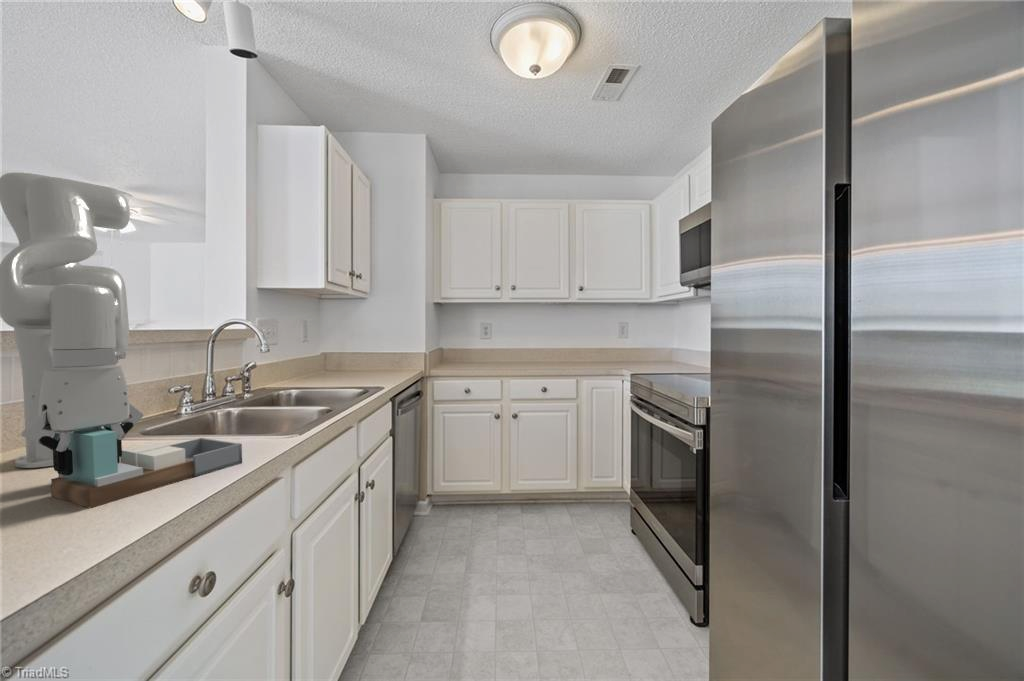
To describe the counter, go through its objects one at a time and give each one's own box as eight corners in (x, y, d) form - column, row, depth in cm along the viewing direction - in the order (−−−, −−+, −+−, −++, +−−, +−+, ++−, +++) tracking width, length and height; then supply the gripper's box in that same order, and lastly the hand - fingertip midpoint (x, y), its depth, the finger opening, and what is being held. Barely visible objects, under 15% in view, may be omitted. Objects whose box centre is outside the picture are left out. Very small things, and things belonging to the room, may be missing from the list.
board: (51, 496, 71) (51, 479, 71) (156, 468, 85) (155, 454, 84) (90, 508, 66) (89, 489, 66) (194, 476, 80) (193, 460, 80)
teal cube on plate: (59, 477, 72) (57, 430, 71) (104, 466, 77) (103, 422, 77) (98, 486, 67) (96, 436, 67) (143, 474, 72) (141, 428, 72)
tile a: (120, 463, 79) (119, 450, 79) (151, 455, 83) (151, 443, 83) (135, 466, 77) (135, 452, 77) (167, 458, 81) (166, 445, 81)
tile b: (137, 467, 77) (137, 453, 76) (169, 459, 81) (168, 446, 81) (154, 470, 75) (153, 456, 75) (185, 462, 79) (185, 448, 79)
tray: (154, 468, 85) (154, 448, 85) (202, 455, 93) (201, 437, 93) (195, 476, 80) (195, 455, 80) (242, 462, 88) (241, 443, 88)
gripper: (134, 356, 79) (138, 451, 80) (-3, 363, 64) (2, 482, 64) (158, 356, 76) (162, 456, 77) (20, 364, 61) (26, 489, 61)
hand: (89, 467), depth 71 cm, fingers open, 5 cm apart
